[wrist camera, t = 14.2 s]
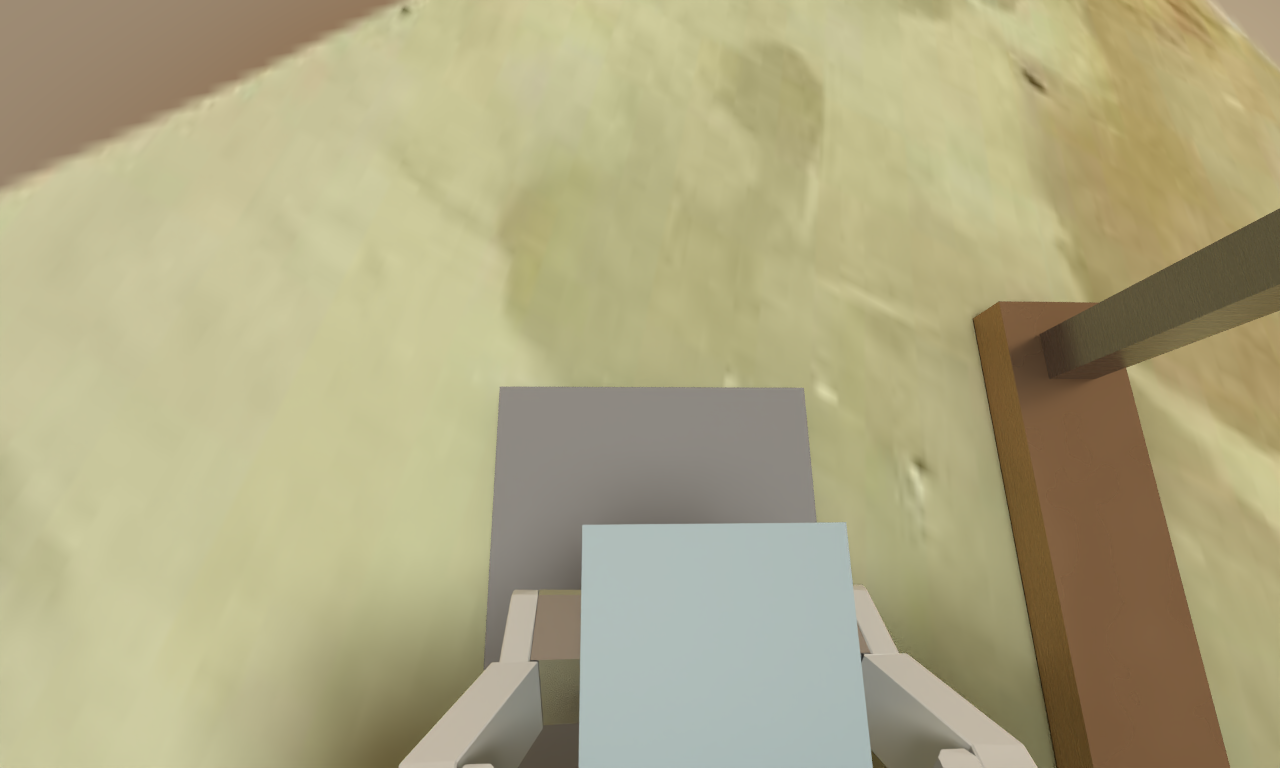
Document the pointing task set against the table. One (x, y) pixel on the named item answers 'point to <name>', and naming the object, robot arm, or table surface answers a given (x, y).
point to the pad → (630, 484)
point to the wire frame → (1112, 502)
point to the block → (720, 648)
